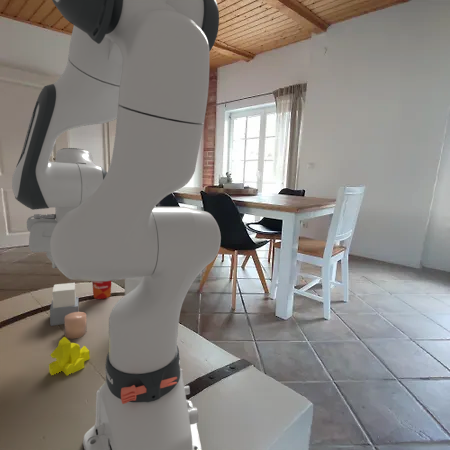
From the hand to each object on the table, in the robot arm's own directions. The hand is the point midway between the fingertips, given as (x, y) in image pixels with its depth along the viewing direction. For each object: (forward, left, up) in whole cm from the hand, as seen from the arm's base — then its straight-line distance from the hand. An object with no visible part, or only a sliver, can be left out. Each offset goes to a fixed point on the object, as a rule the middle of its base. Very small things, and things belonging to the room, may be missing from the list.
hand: (76, 265), depth 74 cm
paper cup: (+23, -7, -19) cm, 31 cm away
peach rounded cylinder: (0, +1, -19) cm, 19 cm away
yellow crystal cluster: (-14, +2, -19) cm, 24 cm away
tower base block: (+10, +4, -19) cm, 22 cm away
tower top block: (+10, +4, -14) cm, 17 cm away
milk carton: (-1, -16, -19) cm, 25 cm away
